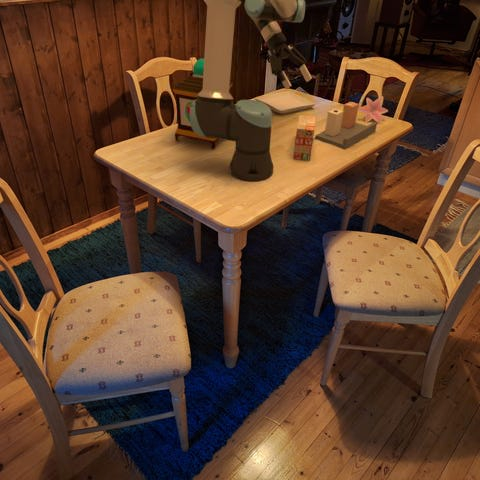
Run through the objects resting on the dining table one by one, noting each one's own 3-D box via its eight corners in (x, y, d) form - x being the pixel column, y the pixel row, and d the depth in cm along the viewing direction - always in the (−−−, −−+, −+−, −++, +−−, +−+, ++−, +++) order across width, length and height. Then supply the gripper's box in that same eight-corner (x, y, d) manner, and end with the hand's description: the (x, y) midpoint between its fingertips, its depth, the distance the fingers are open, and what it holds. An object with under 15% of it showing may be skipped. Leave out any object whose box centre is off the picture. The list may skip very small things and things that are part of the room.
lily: (351, 121, 188) (358, 106, 179) (362, 104, 192) (370, 89, 183) (374, 134, 186) (383, 120, 177) (386, 117, 190) (394, 102, 182)
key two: (348, 128, 174) (352, 106, 168) (340, 125, 176) (344, 103, 170) (354, 125, 177) (359, 103, 171) (346, 122, 179) (350, 100, 173)
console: (345, 149, 161) (346, 139, 159) (315, 138, 169) (316, 129, 166) (375, 132, 176) (377, 122, 173) (346, 122, 183) (347, 114, 181)
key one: (333, 136, 167) (336, 113, 161) (324, 133, 169) (328, 111, 163) (339, 133, 170) (343, 110, 164) (331, 130, 172) (335, 108, 166)
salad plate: (287, 96, 210) (288, 90, 208) (315, 110, 196) (316, 102, 194) (253, 104, 201) (253, 96, 199) (280, 118, 187) (280, 110, 185)
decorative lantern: (237, 133, 171) (239, 55, 153) (215, 152, 157) (214, 69, 139) (194, 124, 178) (191, 49, 160) (170, 142, 163) (163, 61, 145)
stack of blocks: (297, 136, 170) (300, 107, 163) (312, 138, 169) (316, 108, 162) (293, 159, 153) (296, 127, 146) (310, 161, 153) (314, 129, 145)
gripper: (287, 38, 179) (311, 82, 180) (247, 48, 165) (274, 95, 166) (298, 26, 173) (323, 72, 174) (258, 35, 158) (285, 85, 160)
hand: (299, 83), depth 170 cm, fingers open, 13 cm apart
